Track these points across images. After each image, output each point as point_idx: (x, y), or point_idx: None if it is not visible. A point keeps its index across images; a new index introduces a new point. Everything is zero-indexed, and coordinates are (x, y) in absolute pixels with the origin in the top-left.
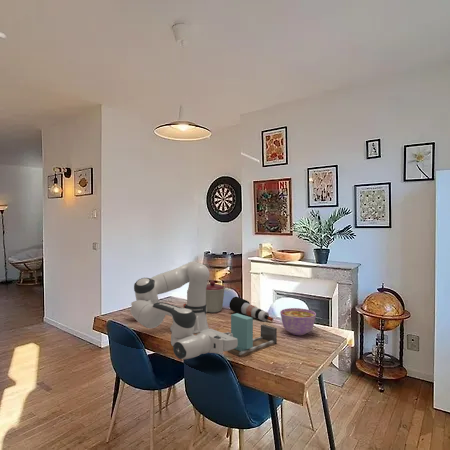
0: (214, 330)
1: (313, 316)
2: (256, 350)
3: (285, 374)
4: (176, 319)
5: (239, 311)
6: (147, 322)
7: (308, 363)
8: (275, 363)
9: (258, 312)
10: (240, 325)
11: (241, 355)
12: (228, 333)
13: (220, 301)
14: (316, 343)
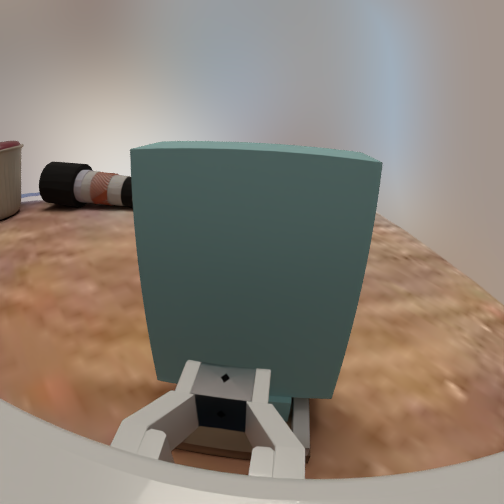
0: (3, 426)
1: None
2: None
3: None
4: None
5: (70, 197)
6: None
7: (492, 317)
8: (467, 384)
9: (131, 186)
10: (275, 238)
11: (309, 452)
12: (226, 397)
13: (14, 183)
14: (373, 239)
